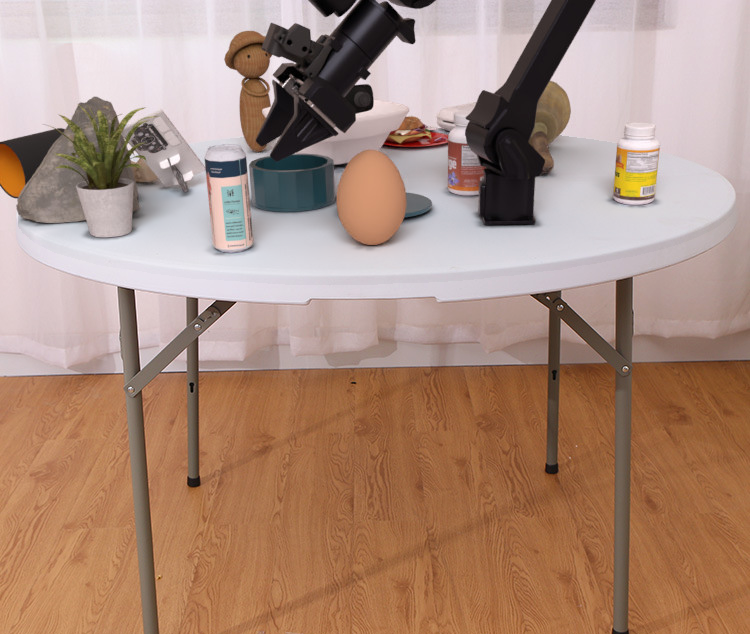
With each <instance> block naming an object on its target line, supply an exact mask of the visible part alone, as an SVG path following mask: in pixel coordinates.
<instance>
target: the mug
mask: <svg viewBox="0 0 750 634" xmlns="http://www.w3.org/2000/svg"><path fill="white" fill-rule="evenodd" d="M56 129H58V130H59V131H61V132H62V133H63V132H64V130H65V129H66V128H63V127H57V128H56ZM56 129H54V128H52V129H49V130H44V131H40V132H36V133H31V134H28V135H23V136H18V137H15V138H10V139H7V140H2V141H0V188H1V190H3V192H4V193H5V194H6V195H8V196H9V197H10V198H13V199H18V197H19V195H20V193H21V191H22V190H23V188H24V186H25V185H26V184H27V182H28V181H29V180H30V179H31V178H32V176H33V174H34V173H35V172H36V170H37V168H38V167H39V166H40V165H41V163H42V161H43V159H44V158H45V156H46V155H47V153H48V151H49V149H50V148H51V147H52V145H53V144H54V142H55V141H56V140H57V139H58V138H59V137H60V136H61V135H62V134H61V133H60V132H59V131H58V130H56Z"/></svg>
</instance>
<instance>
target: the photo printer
mask: <svg viewBox="0 0 750 634" xmlns="http://www.w3.org/2000/svg"><path fill="white" fill-rule="evenodd" d="M476 102H477V101H474V102H470V103H465V104H459V105H454V106H447V107H444V108H441V109H440V110H438V112H437V113H436V124H437V126H438V127H440V128H441V129H442V130H444V131H448V132H450V131H451V130H452V129H453V128H455V126H456V125H455V124H454V121H453V120H454V113H455V112H457V111H462V110H473V109H474V107H475V105H476Z"/></svg>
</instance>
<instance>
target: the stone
mask: <svg viewBox="0 0 750 634" xmlns="http://www.w3.org/2000/svg"><path fill="white" fill-rule="evenodd" d="M79 105H80V106H81V107H82V108H84V109H85V110H86V111H87V112H88V113H89V114H90V115H91V116H92V118H93V119H94V117H95V120H96V123H97V126H98V130H99V121H98V116H97V110H98V109H99V110H100V111H101V112H102V113H103V115H104V116H105V117H106V119H107V122H108V130H109V137H110V129H111V124H112V120H113V119H114V118H115V117H116V116H117V115H118V114H117V112H116V110H115V108H114V106H113V103H112V101H108V100H106V99H103V98H100V97H99V96H92V97H91V98H89V99H88V100H87V101H86V102H81V101H80V102H79V103H77V105H76V108H75V110H74V113H73V114H72V116H71V118H70V120H71V121H72V122H74V123H75V124H76V125H77V126H79V127H80V128H81V130H82V131H83V132H84V134H85V135H86V137H87V139H88V141H89V143H90V142H92V143H93V144H94V146H95V148H96V152H98V153H100V149H99V145H98V141H97V137H96V134H95V131H94V128H93V125H92V123H91V120H90V118H89V117H88V115H87V114H86V113H85V112H84V111H83V109H82V108H81V107H80V106H79ZM88 107H89V108H90V109H89V108H88ZM90 110H91V111H92V113H93V115H94V117H93V115H92V113H91V111H90ZM95 120H94V121H95ZM119 123H120V121H119V116H117V118H116V121H115V127H114V131H115V130H116V128H117V127H118V125H119ZM64 129H65V130H64V132H63V133H64V134H65V135H66V136H67V137H69V138H70V139H71V140H72V141H73V140H74V135H75V134H74V133H73V131H72V130H71V128H70V127H69V125H68V124H67V126H66V128H64ZM67 137H65V136H64V135H63V134H62V135H61V136H60V137H59V138H58V139H57V140H56V141H55V142H54V144H53V145H52V147H51V148H50V149H49V151H48V153H47V155H46V156H45V158H44V159H43V161H42V163H41V165H40V166H39V167H38V168H37V170H36V172H35V173H34V174H33V176H32V178H31V179H30V180H29V181H28V182H27V184H26V185H25V186H24V188H23V190H22V191H21V193H20V195H19V197H18V199H17V198H16V199H17V200H16V201H17V204H16V206H15V207H16V211H17V214H18V215H19V216H20V217H21V218H22V219H28V220H31V221H33V222H37V223H44V224H61V223H68V222H69V223H73V222H82V221H86V218H85V215H84V211H83V208H82V205H81V202H80V198H79V195H78V192H77V189H76V185H77V184H78V183H80V182H83V181H85V179H86V180H88V178H87V174H86V171H85V170H84V169H82V168H81V167H80V166H79V165H77V164H76V163H73V162H71V161H69V160H67V159H65V158H63V157H61V156H57V155H55V154H54V153H57V154H66V155H70V156H73V155H72V153H76V151H75V149H74V147H73V143H72V142H71V141H70V140H69V139H68V138H67ZM124 139H125V138H124V137H123V136H122V135H121V136H120V138H119V142H118V145H117V149H116V151H118V150H119V148H120V147H121V148H120V150H122V148H123V145H124V143H125V140H124ZM123 141H124V142H123ZM122 143H123V144H122ZM121 145H122V146H121ZM82 150H83V148H82ZM127 150H129V149H128V145H127V146H126V149H125V151H126V152H124V155H123V157H122V160H121V163H122V161H123V159H124V157H125V155H126V154H127V153H128V151H127ZM83 151H84V150H83ZM84 152H85V151H84ZM85 153H86V152H85ZM100 154H101V153H100ZM73 157H74V156H73ZM75 157H76V158H79V157H78V155H77V154H76V155H75ZM130 158H131V156H130V157H129V159H130ZM79 159H80V158H79ZM131 161H132V159H130V160H128V161H127V162H126V164H125V166H126V165H128V164H131ZM90 162H91V161H90ZM117 162H118V161H117ZM121 163H120V165H121ZM116 164H117V163H116ZM60 165H67V166H70V167H72V168H74V169H75V170H77V171H78V172H80V173H81V174H82V176H83V177H84V178H85V179H84V178H83V177H82V176H81V175H80V174H78V173H77V172H75V171H73V170H71V169H67V168H56V167H58V166H60ZM55 168H56V169H55ZM115 168H116V167H115ZM119 168H120V166H119ZM118 170H119V169H118ZM114 171H115V170H114ZM113 175H114V174H113ZM120 178H125V179H130V180H132V181H133V182H134V190H133V212H135V211H138V210H140V209H141V206H140V204H139V203H140V202H139V201H138V198H139V191H138V185H137V181H135V177H134V173H133V169H132V167H126V168H124V169H123V171H122V173H121V175H120Z"/></svg>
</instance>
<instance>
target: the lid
mask: <svg viewBox="0 0 750 634" xmlns="http://www.w3.org/2000/svg"><path fill="white" fill-rule="evenodd" d="M406 202H407V204H406V212H405V216H404V218H410V217H415V216H419V215H422V214H425V213H427V212H428V211H430V210H431V209H432V207H433V201H432V200H431V199H430V198H429V197H427V196H425V195H423V194H419V193H414V192H408V191H407V192H406Z"/></svg>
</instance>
